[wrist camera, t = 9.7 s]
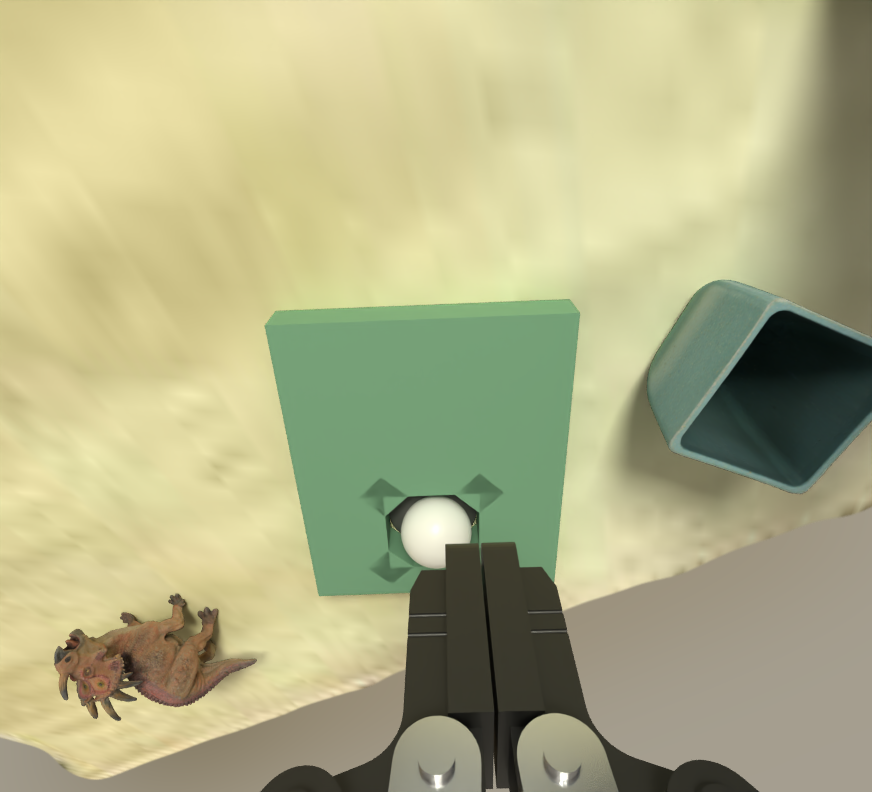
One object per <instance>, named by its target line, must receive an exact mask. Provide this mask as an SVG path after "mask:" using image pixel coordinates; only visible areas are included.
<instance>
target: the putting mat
mask: <svg viewBox="0 0 872 792" xmlns="http://www.w3.org/2000/svg"><path fill="white" fill-rule="evenodd" d="M579 318H580V312H579V311H578V310H577V308H576V307H575V306H574V304H573V303H572V302H571V301H570V299H565V300H540V301H515V302H490V303H465V304H439V305H414V306H389V307H364V308H339V309H314V310H289V311H275V313H274V314H273V315H272V317H271V318H270V319H269V321H268V322H267V323H266V325H265V329H266V334H267V339H268V344H269V349H270V354H271V359H272V364H273V369H274V374H275V379H276V384H277V389H278V394H279V399H280V404H281V409H282V414H283V419H284V424H285V429H286V434H287V439H288V444H289V449H290V454H291V459H292V464H293V469H294V474H295V479H296V484H297V489H298V494H299V499H300V504H301V509H302V514H303V519H304V524H305V529H306V534H307V539H308V544H309V549H310V554H311V559H312V564H313V569H314V574H315V579H316V584H317V589H318V594H319V596H335V595H362V594H388V593H410V590H411V588H412V586H413V585H414V583H415V581H416V579H417V577H418V575H419V574H420V572H421V570H446V567H445V568H439V569H434V568H428V567H424V566H422V565H420V564H418V563H417V562H415V561H414V560H413V559H412V558H411V557H410V556H409V555H408V553H407V552H406V550H405V548H404V546H403V543H402V539H401V534H400V533H401V526H402V521H403V518H404V516H405V514H406V512H407V511H408V510H409V508H410V507H411V506H412V505H413V504H414V503H416V502H417V501H419V500H420V499H422V498H425V497H428V496H444V497H448V498H450V499H452V500H454V501H456V502H457V503H458V504H459V505H460V506H461V507H462V508H463V509H464V510H465V512H466V513H467V515H468V517H469V520H470V523H471V525H472V524H473V522H474V520H475V517H476V512H477V524H476V525H474V526H473V527H472V528H471V529H472V535H471V541H470V543H478V544H479V552H480V563H481V543H490V542H515V544H516V548H517V554H518V559H519V565H520V567H542V568H543V569H544V570H545V572H546V573H547V574H548V576H549V577H550V578H551V580H552V581H553V582H554V578H555V568H556V558H557V547H558V537H559V526H560V516H561V505H562V495H563V485H564V474H565V464H566V453H567V443H568V433H569V422H570V412H571V401H572V391H573V380H574V370H575V360H576V349H577V339H578V328H579ZM390 519H391V522H392V523H393V525H394V527H395V528H396V529H397V530H398V531H399V532H400V533H399V532H397V531H396V530H394V529H393V528H391V525H390Z"/></svg>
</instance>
